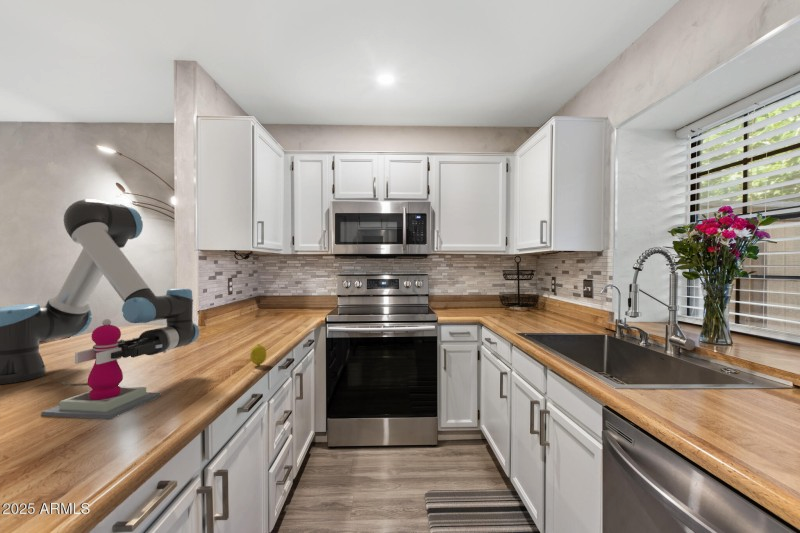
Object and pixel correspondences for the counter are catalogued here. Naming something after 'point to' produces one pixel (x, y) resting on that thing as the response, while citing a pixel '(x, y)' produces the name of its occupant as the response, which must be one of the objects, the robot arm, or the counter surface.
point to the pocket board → (102, 404)
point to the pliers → (75, 384)
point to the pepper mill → (105, 364)
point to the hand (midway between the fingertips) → (87, 358)
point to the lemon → (258, 354)
